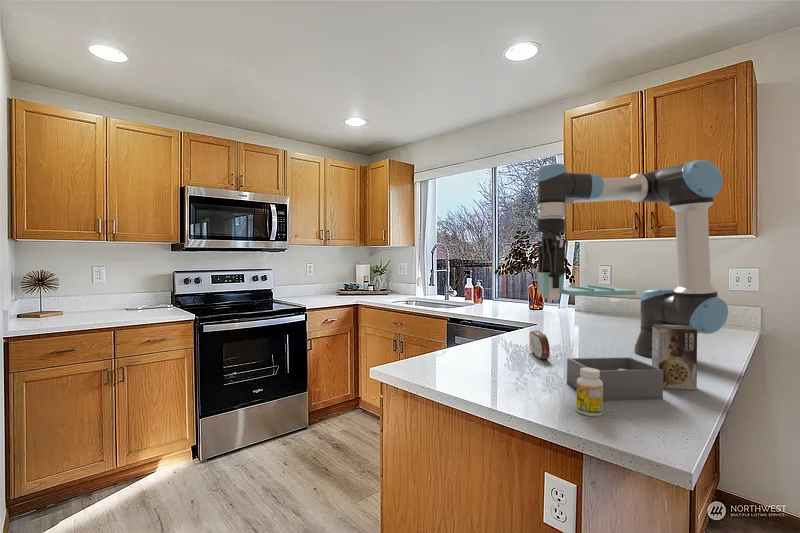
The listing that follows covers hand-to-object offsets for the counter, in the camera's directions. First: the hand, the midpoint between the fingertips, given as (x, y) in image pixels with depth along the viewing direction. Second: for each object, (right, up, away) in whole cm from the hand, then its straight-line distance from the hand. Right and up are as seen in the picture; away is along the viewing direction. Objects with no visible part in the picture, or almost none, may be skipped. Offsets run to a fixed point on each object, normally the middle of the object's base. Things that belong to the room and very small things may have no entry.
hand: (550, 298), depth 123 cm
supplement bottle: (-2, -23, -29) cm, 37 cm away
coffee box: (+30, -23, -9) cm, 39 cm away
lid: (+9, +2, +1) cm, 10 cm away
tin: (+4, -22, +23) cm, 32 cm away
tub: (+11, -23, -14) cm, 29 cm away
